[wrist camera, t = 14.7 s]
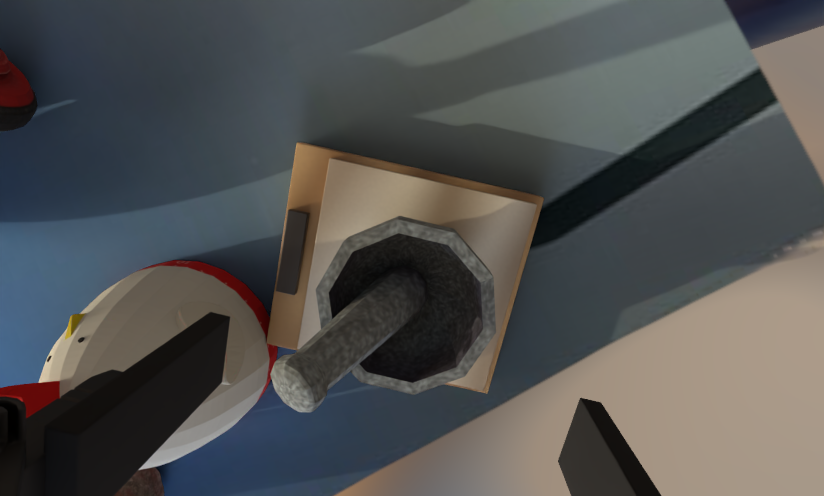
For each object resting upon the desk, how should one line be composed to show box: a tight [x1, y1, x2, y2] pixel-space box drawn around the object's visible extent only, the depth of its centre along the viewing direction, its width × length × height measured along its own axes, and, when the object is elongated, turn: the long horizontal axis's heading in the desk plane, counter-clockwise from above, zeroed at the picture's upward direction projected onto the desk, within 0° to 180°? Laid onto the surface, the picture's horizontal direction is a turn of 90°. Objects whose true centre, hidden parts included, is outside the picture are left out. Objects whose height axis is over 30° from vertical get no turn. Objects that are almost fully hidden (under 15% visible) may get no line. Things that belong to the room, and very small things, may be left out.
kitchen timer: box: [0, 260, 278, 470], centre depth 26 cm, size 14×14×15 cm
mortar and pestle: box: [270, 216, 496, 412], centre depth 23 cm, size 11×9×12 cm
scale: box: [266, 142, 544, 394], centre depth 30 cm, size 17×15×3 cm
